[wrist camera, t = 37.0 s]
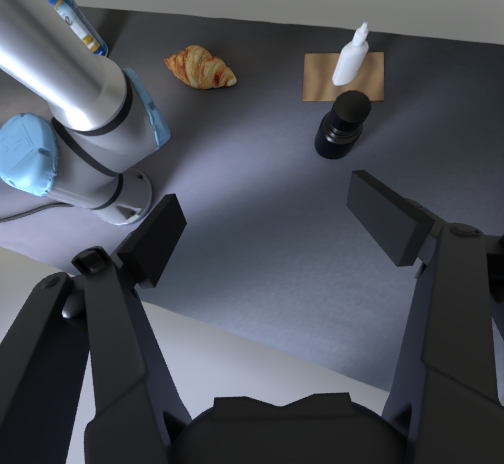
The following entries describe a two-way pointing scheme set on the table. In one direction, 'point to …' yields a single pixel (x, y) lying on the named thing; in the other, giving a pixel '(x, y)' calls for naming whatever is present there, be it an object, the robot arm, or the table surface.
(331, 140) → the ink bottle
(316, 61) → the wooden board
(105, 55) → the beverage bottle
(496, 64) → the table surface
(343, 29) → the table surface
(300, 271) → the table surface
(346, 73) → the eye dropper bottle
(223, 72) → the croissant
